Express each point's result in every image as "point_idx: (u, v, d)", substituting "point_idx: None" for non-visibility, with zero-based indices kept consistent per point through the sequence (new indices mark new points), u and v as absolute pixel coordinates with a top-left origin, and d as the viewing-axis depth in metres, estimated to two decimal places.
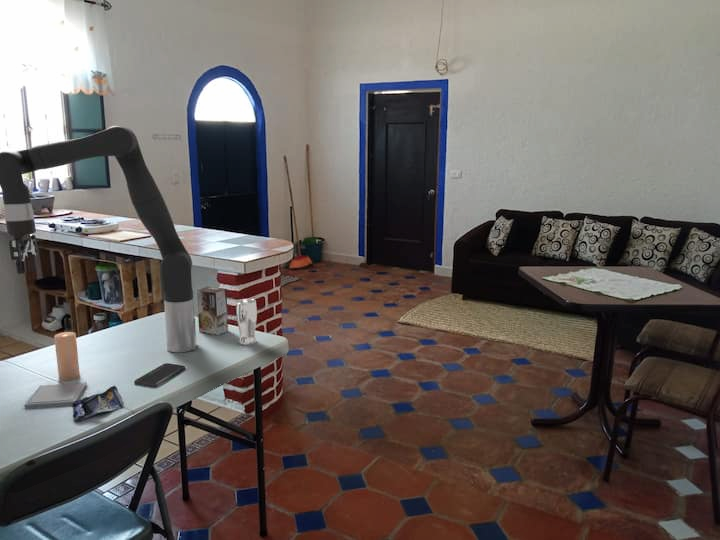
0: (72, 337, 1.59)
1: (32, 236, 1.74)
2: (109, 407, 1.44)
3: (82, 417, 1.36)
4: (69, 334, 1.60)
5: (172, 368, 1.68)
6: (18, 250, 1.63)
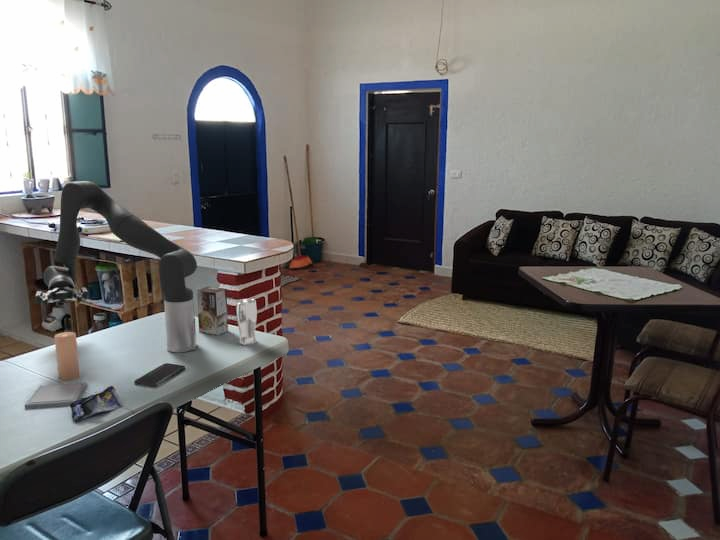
0: (72, 337, 1.59)
1: None
2: (107, 407, 1.44)
3: (81, 417, 1.36)
4: (69, 334, 1.60)
5: (172, 368, 1.68)
6: None
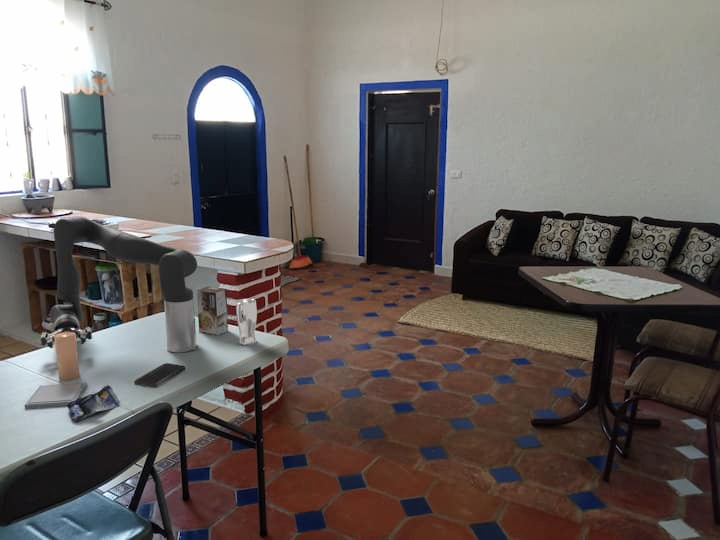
0: (72, 337, 1.59)
1: None
2: None
3: (81, 417, 1.36)
4: (69, 334, 1.59)
5: (172, 368, 1.68)
6: None
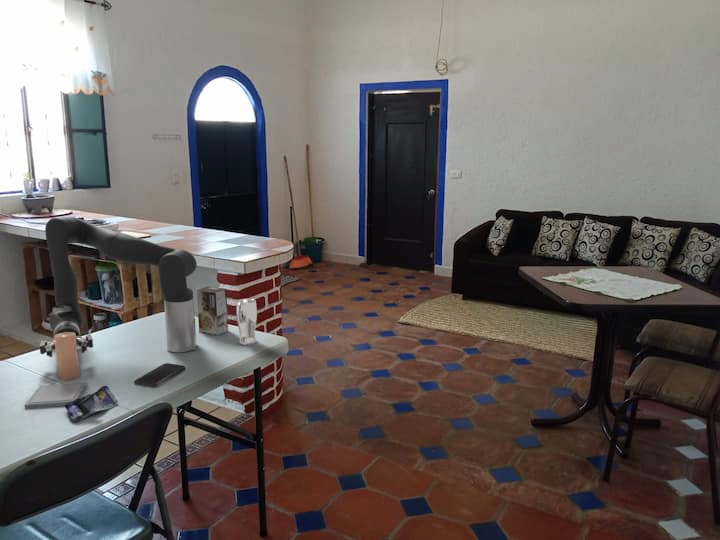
0: (72, 337, 1.58)
1: None
2: None
3: (80, 417, 1.36)
4: (69, 334, 1.59)
5: (172, 368, 1.68)
6: None
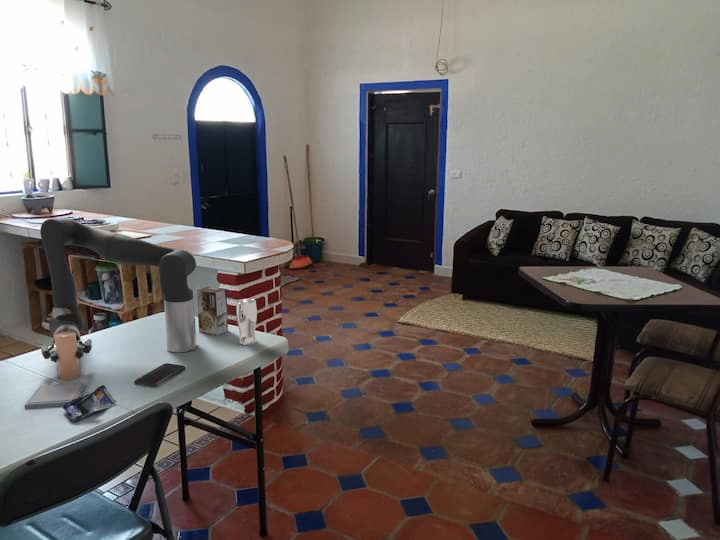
0: (72, 337, 1.58)
1: None
2: (101, 406, 1.44)
3: (80, 417, 1.36)
4: (69, 334, 1.59)
5: (172, 368, 1.68)
6: (42, 349, 1.62)
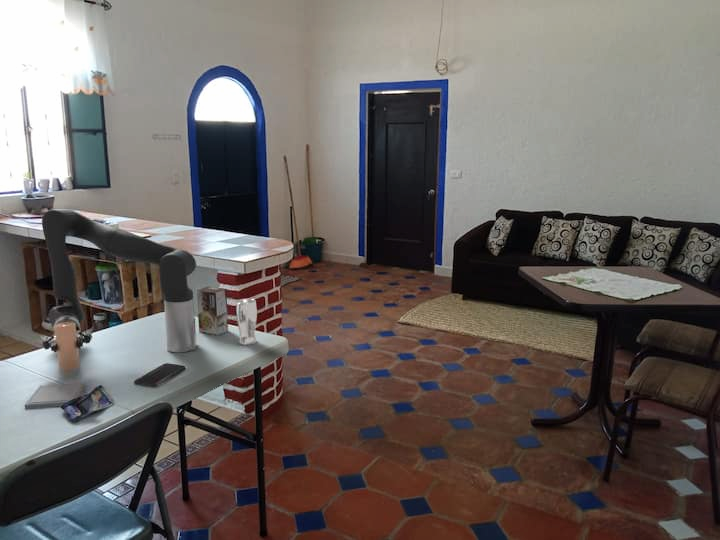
0: (72, 327, 1.58)
1: None
2: (99, 406, 1.44)
3: (79, 417, 1.36)
4: (69, 324, 1.59)
5: (172, 368, 1.68)
6: (42, 339, 1.61)
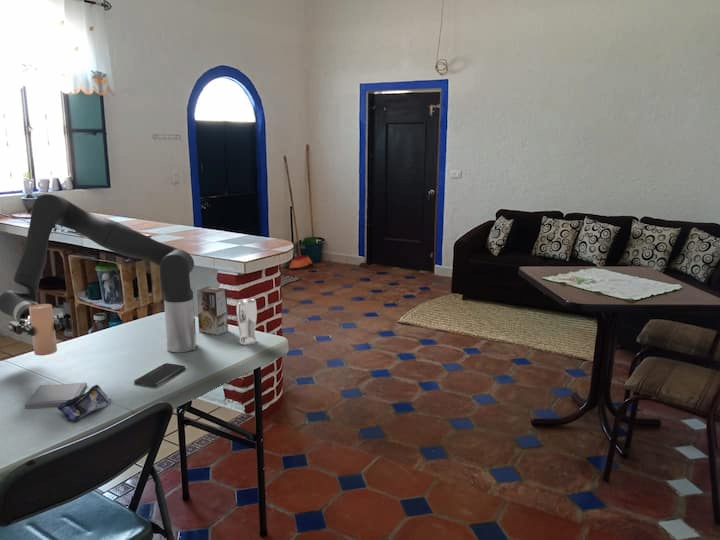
0: (50, 308, 1.49)
1: None
2: (97, 406, 1.44)
3: (79, 417, 1.36)
4: (45, 306, 1.50)
5: (172, 368, 1.68)
6: (12, 324, 1.50)
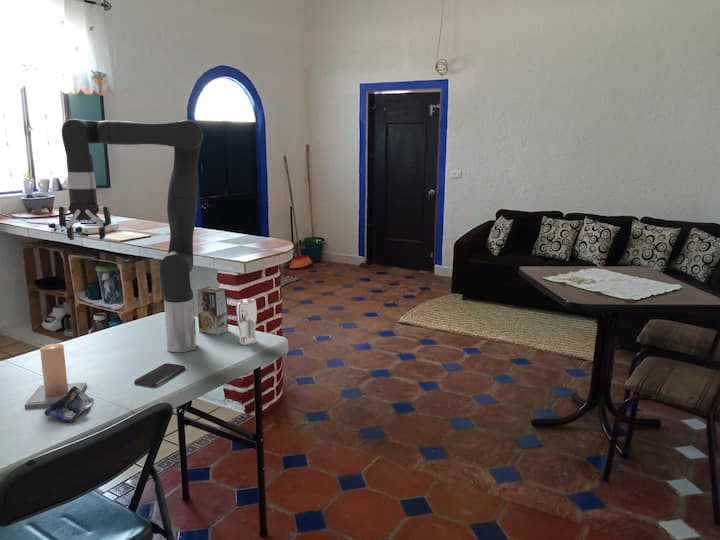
0: (61, 348, 1.46)
1: None
2: None
3: (75, 417, 1.37)
4: (57, 346, 1.47)
5: (172, 368, 1.68)
6: (59, 216, 1.67)
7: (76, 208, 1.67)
